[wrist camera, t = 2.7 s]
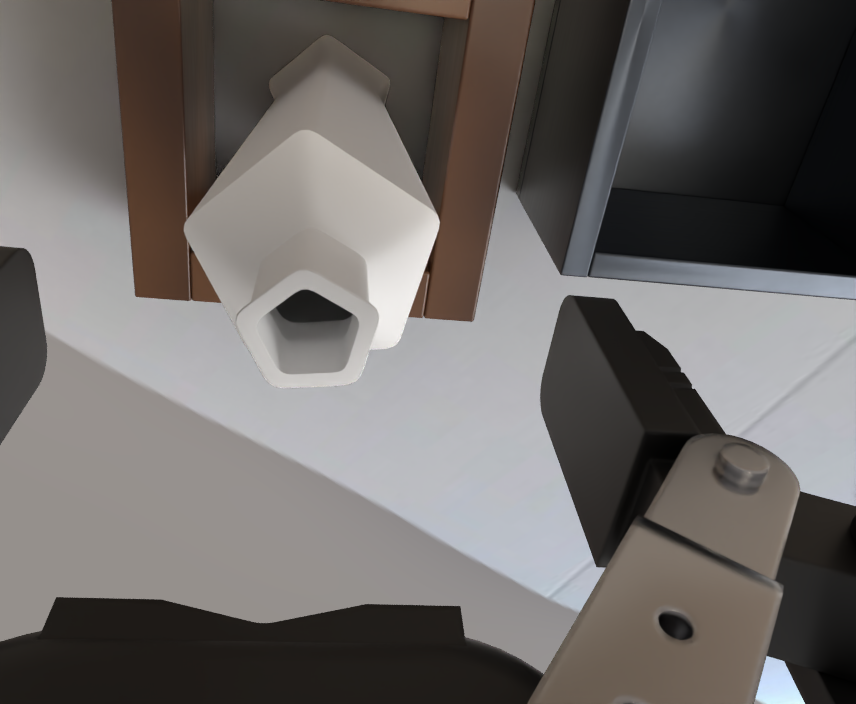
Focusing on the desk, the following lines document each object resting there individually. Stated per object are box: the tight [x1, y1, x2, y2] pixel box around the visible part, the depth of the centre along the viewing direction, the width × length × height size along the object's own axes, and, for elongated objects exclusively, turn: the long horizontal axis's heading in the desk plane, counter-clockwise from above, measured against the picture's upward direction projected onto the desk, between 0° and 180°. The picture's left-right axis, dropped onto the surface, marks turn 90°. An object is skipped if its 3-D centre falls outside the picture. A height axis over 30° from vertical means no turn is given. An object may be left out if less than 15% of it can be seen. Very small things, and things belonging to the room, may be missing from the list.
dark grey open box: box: [516, 0, 856, 300], centre depth 21 cm, size 11×14×7 cm
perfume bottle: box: [184, 35, 440, 388], centre depth 18 cm, size 5×4×15 cm
